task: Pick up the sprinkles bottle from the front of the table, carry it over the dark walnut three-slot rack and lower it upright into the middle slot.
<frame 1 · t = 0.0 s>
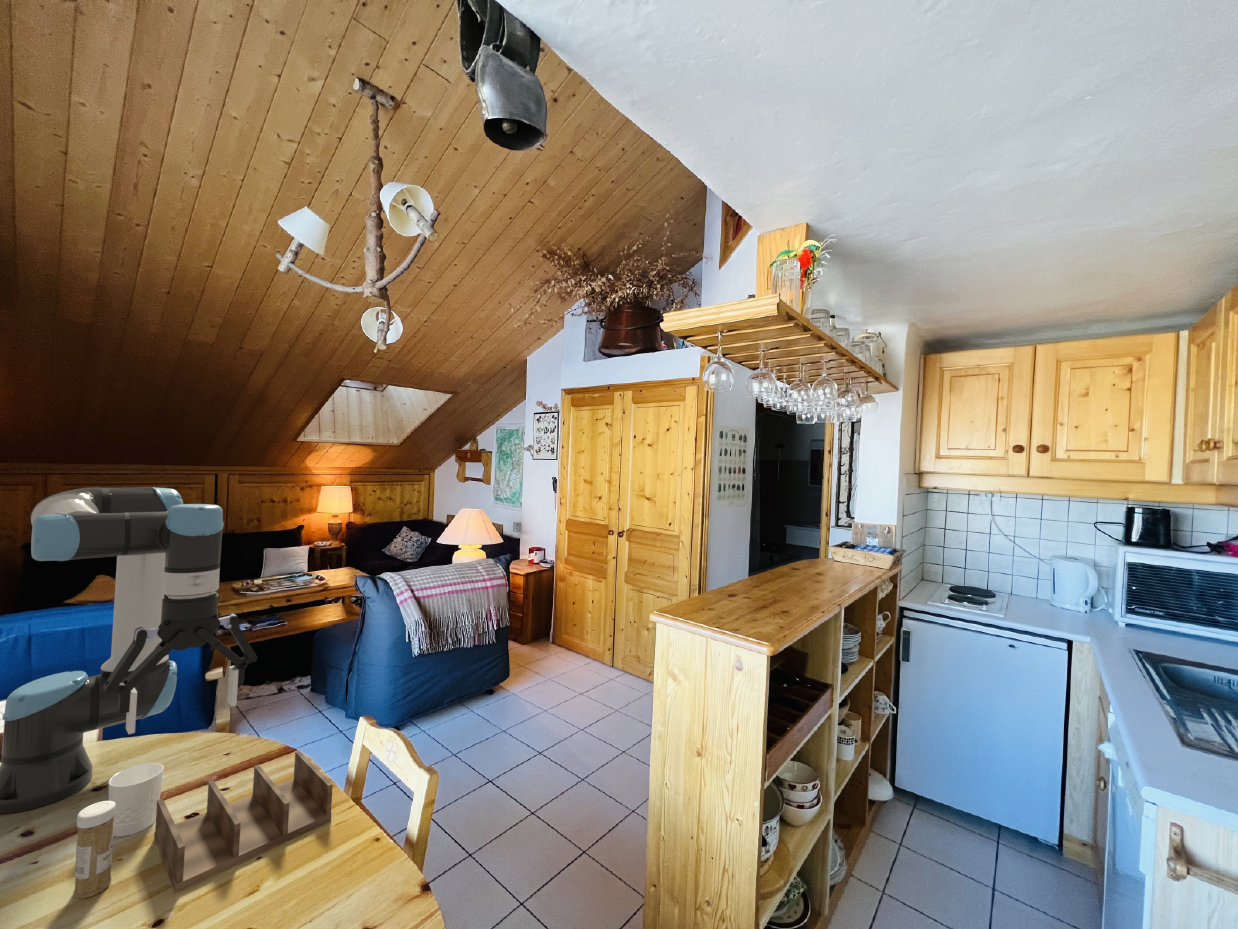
hand: (184, 716, 89), 28 cm above the table, tool pointing down, fingers open, 13 cm apart
white cup: (133, 826, 101), on the table
slot rack: (245, 830, 101), on the table
sprinkles bottle: (92, 890, 86), on the table
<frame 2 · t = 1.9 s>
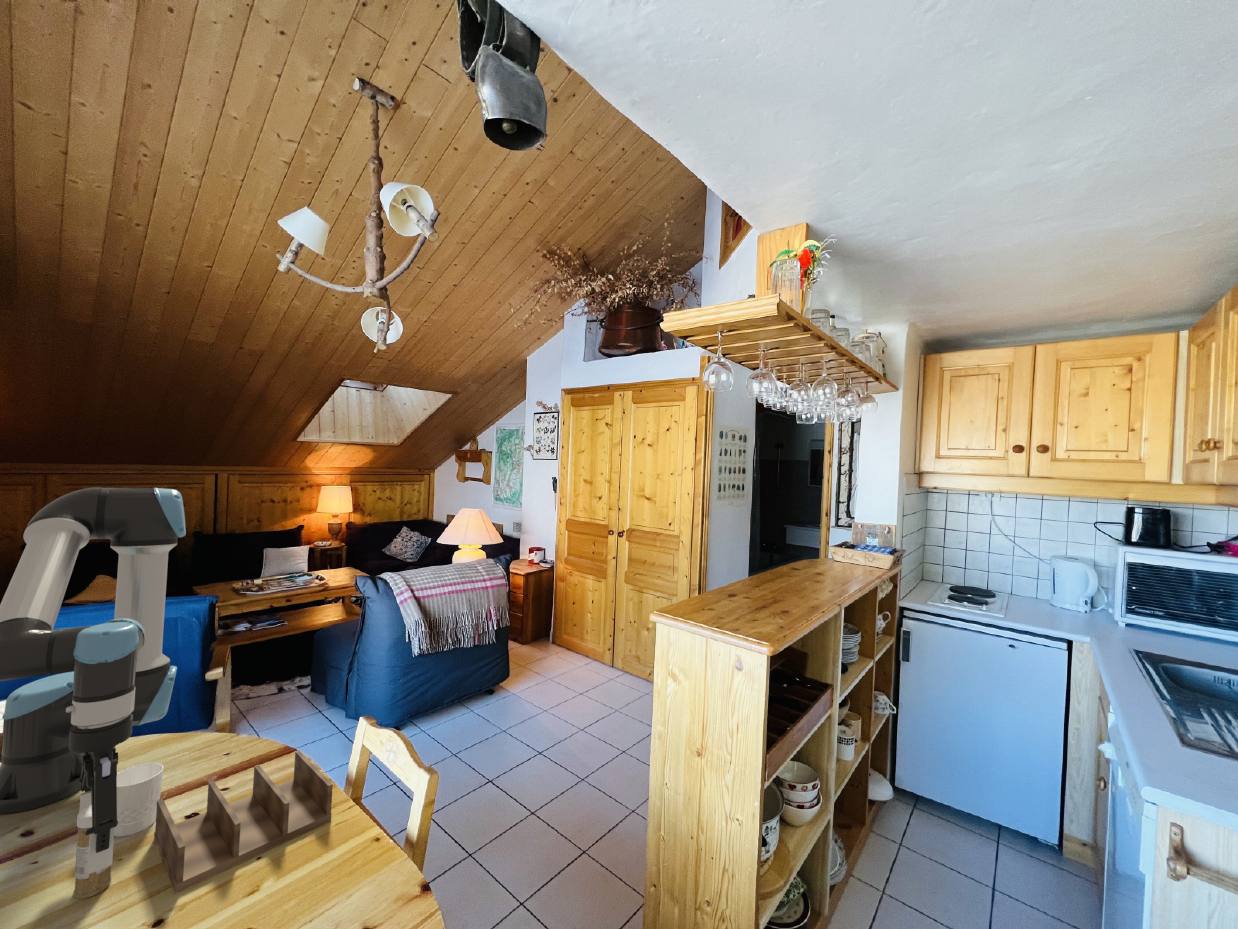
hand: (94, 848, 86), 7 cm above the table, tool pointing down, fingers open, 13 cm apart
nothing on the table moved.
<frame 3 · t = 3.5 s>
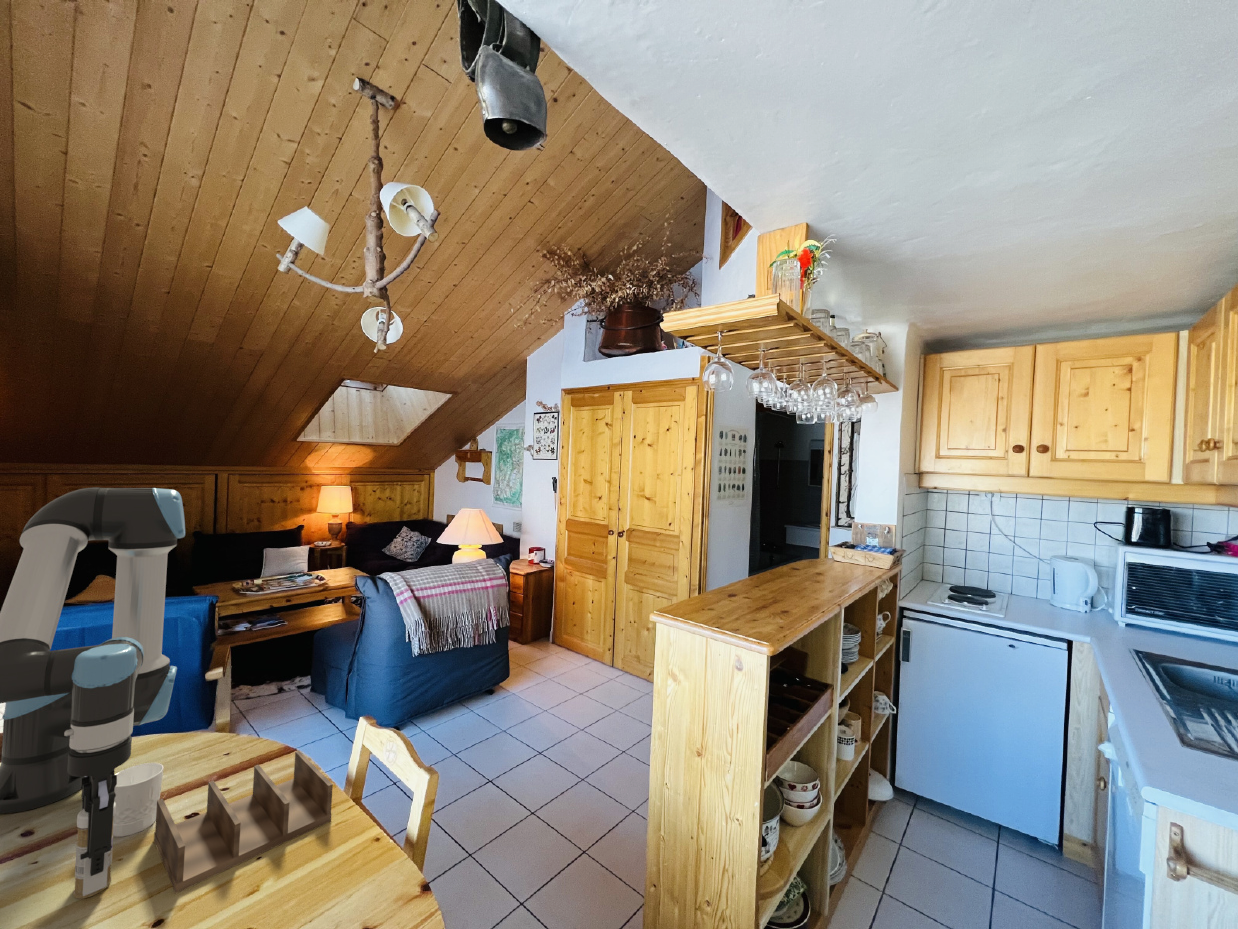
hand: (92, 881, 86), 1 cm above the table, tool pointing down, fingers closed on sprinkles bottle, 4 cm apart
sprinkles bottle: (92, 890, 86), on the table, touching gripper
everything else where it was.
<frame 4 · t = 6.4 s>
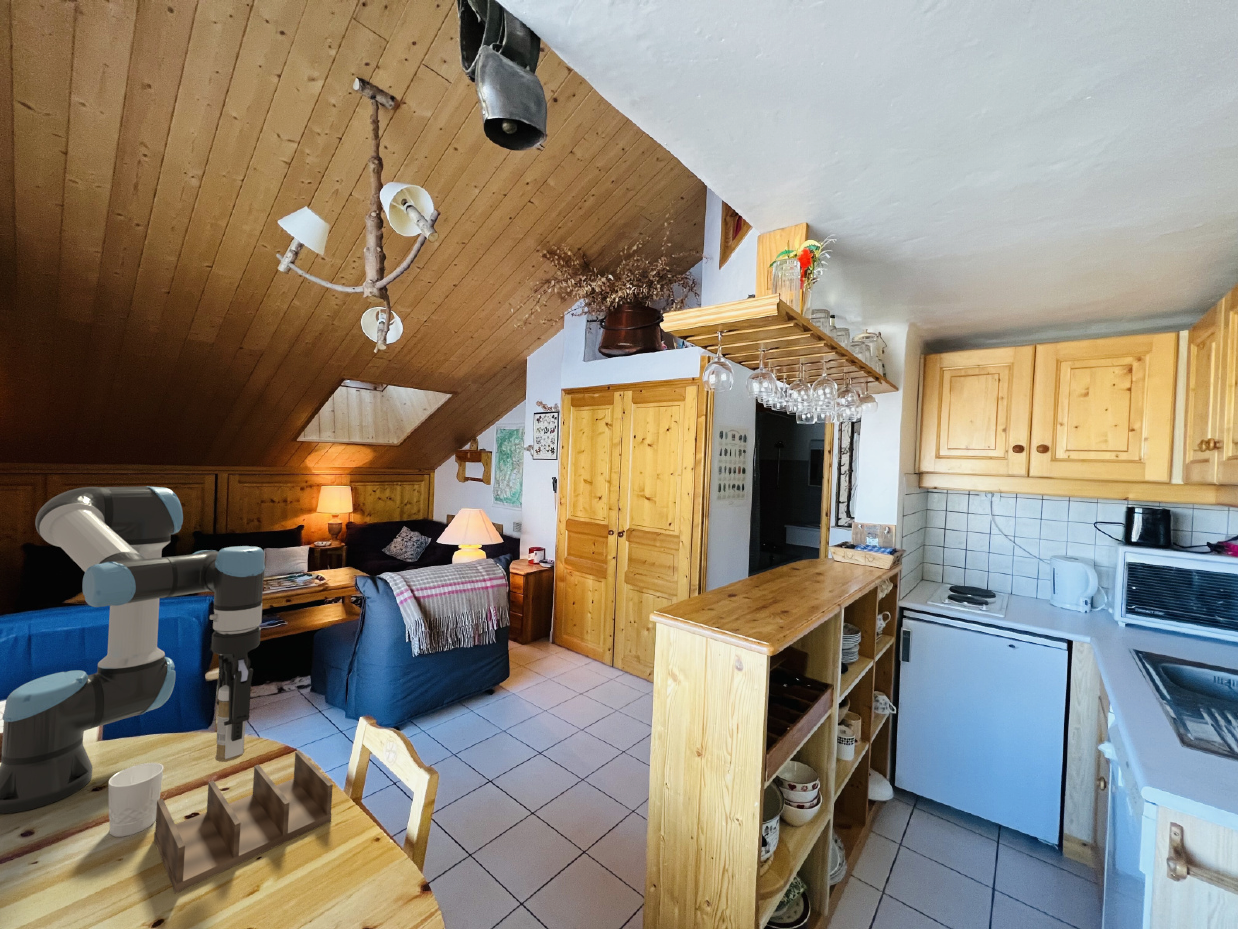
hand: (230, 750, 98), 17 cm above the table, tool pointing down, fingers closed on sprinkles bottle, 4 cm apart
sprinkles bottle: (229, 757, 98), point 16 cm above the table, touching gripper
everything else where it was.
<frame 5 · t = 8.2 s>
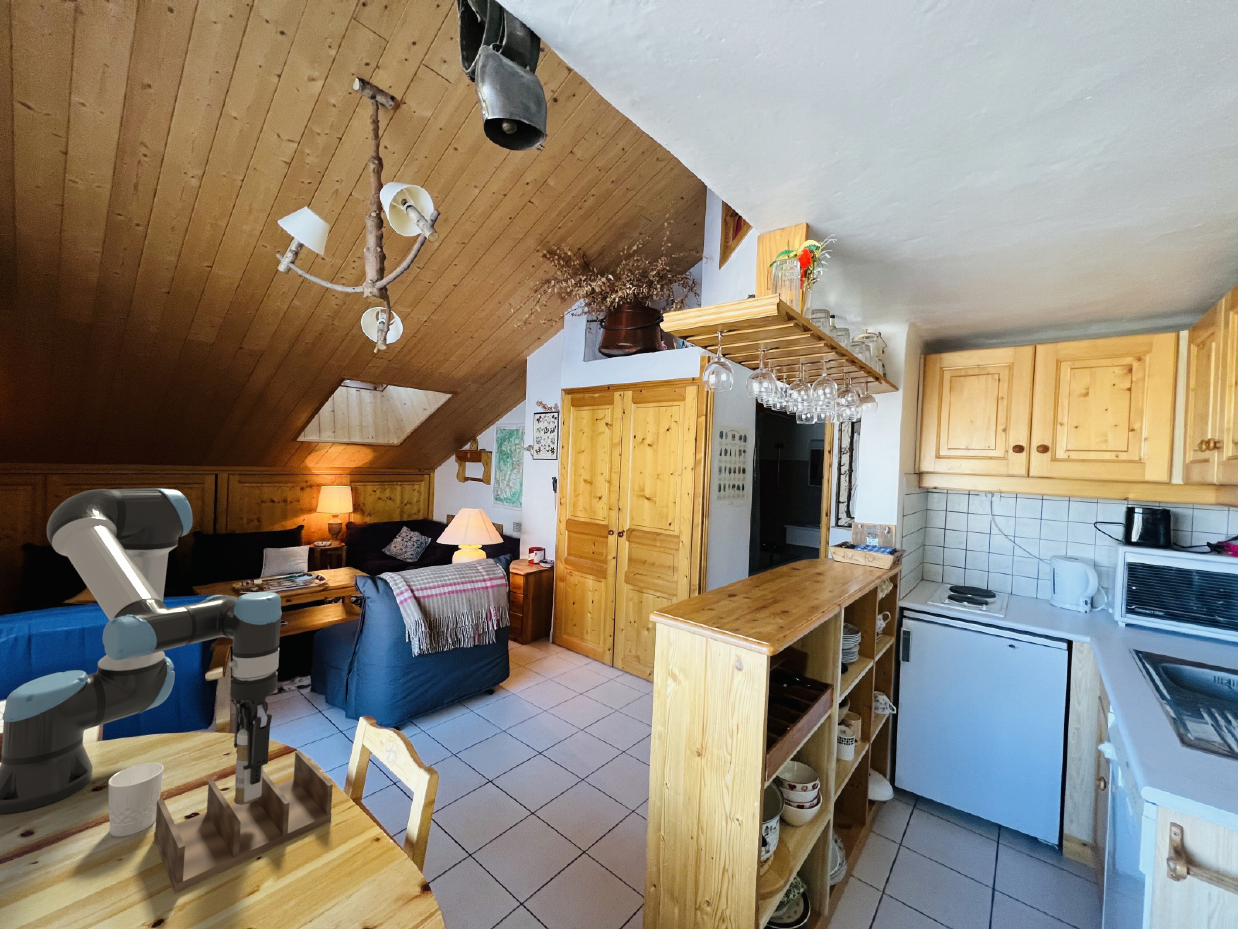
hand: (248, 792, 101), 7 cm above the table, tool pointing down, fingers closed on sprinkles bottle, 4 cm apart
sprinkles bottle: (247, 799, 101), point 6 cm above the table, touching gripper
everything else where it was.
when the fingers open (4 cm above the table, at t = 9.5 s): sprinkles bottle drops 1 cm, resting on slot rack.
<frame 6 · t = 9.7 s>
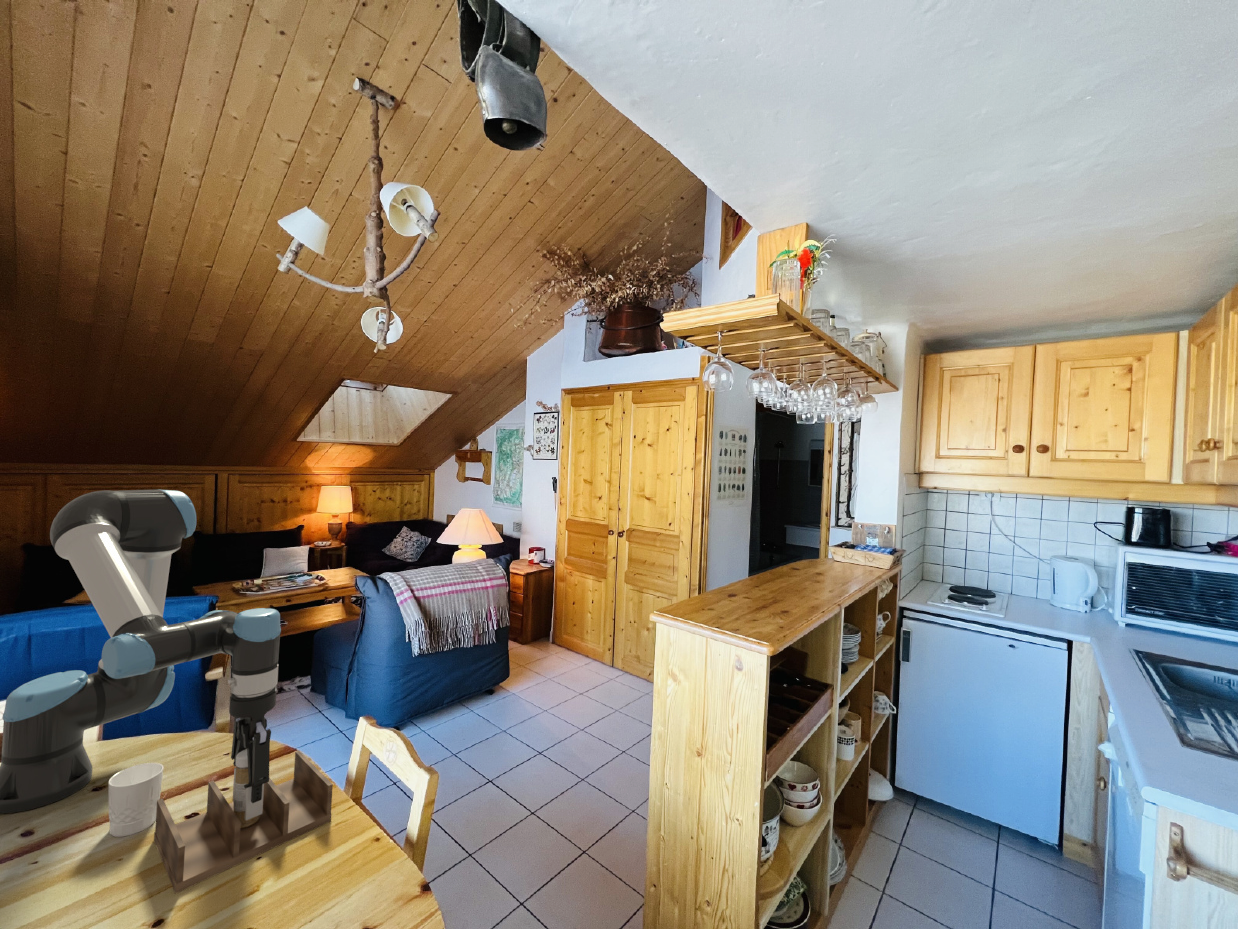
hand: (247, 807, 101), 5 cm above the table, tool pointing down, fingers open, 7 cm apart
sprinkles bottle: (245, 823, 101), point 1 cm above the table, touching slot rack
everything else where it was.
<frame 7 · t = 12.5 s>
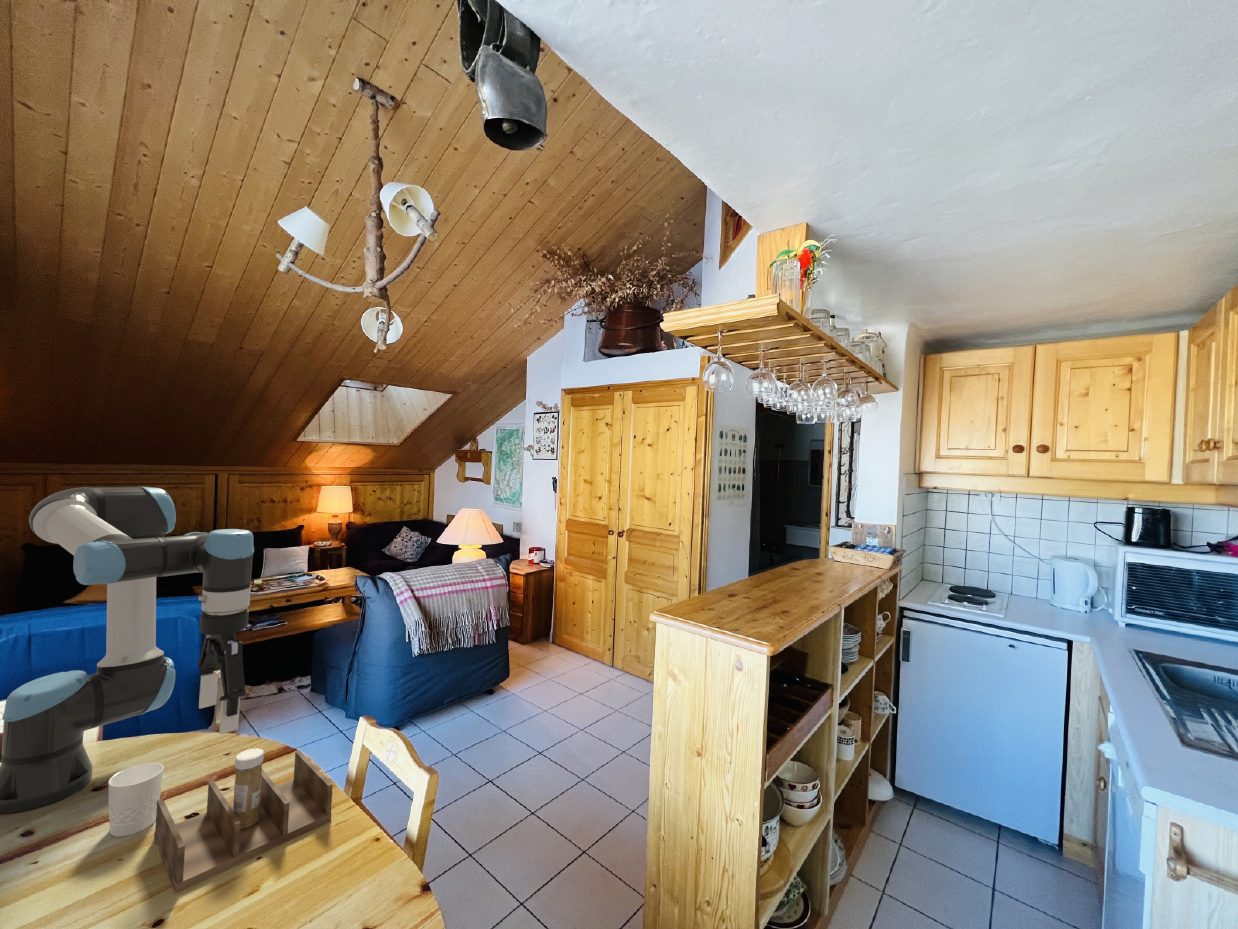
hand: (217, 718, 100), 22 cm above the table, tool pointing down, fingers open, 13 cm apart
nothing on the table moved.
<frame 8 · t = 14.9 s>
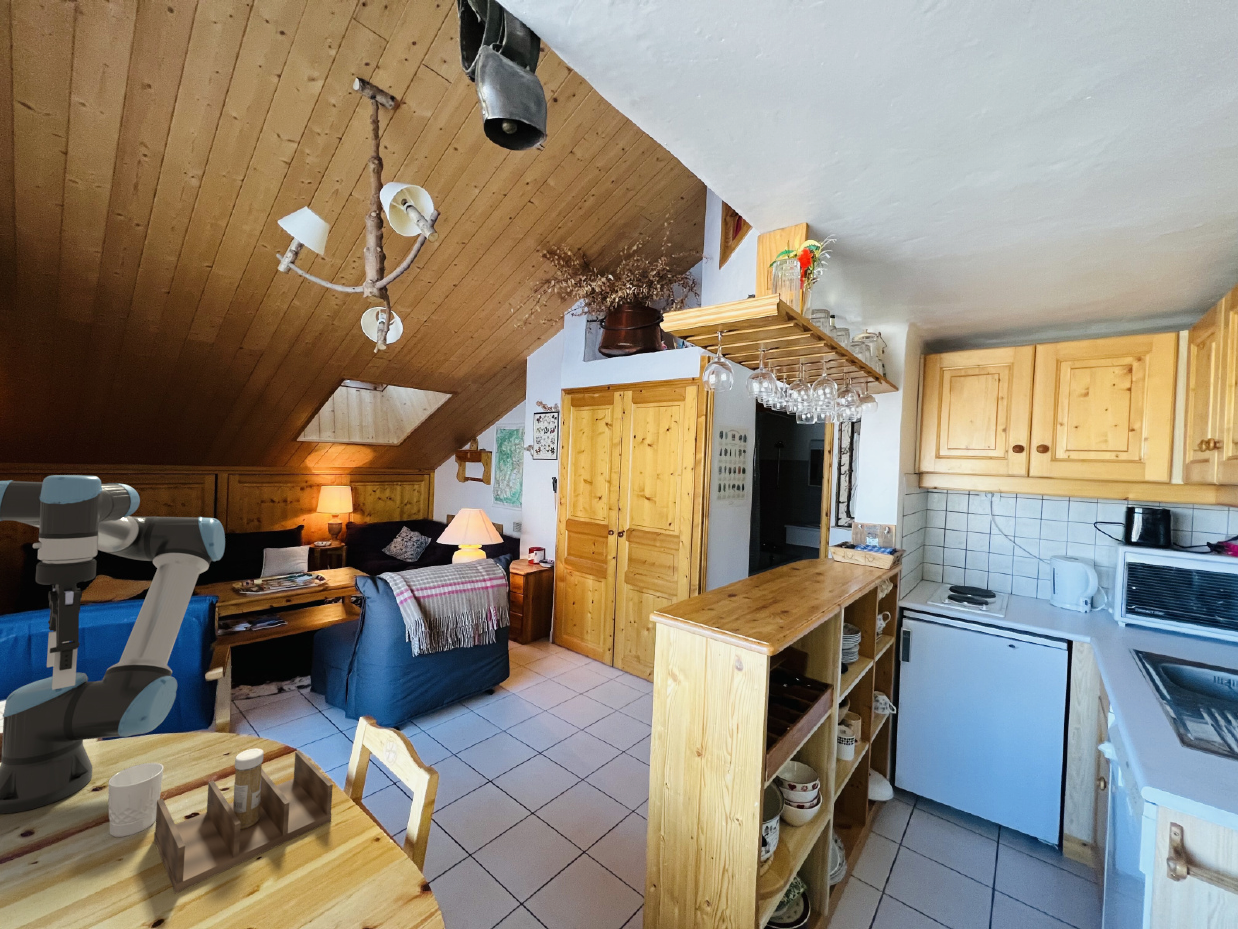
hand: (60, 675, 94), 32 cm above the table, tool pointing down, fingers open, 13 cm apart
nothing on the table moved.
at the end: sprinkles bottle inside the target area on the slot rack (0.1 cm from its centre), point 1.3 cm above the slot rack's base; sprinkles bottle tilted 0°; the gripper is holding nothing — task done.
